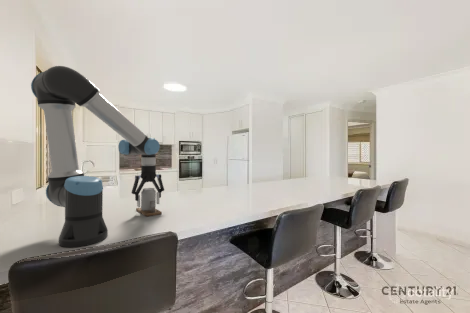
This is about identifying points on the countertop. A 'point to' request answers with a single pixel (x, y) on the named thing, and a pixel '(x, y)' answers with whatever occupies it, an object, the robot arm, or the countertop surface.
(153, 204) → the peg cradle
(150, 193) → the can
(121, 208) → the countertop surface
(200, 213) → the countertop surface
